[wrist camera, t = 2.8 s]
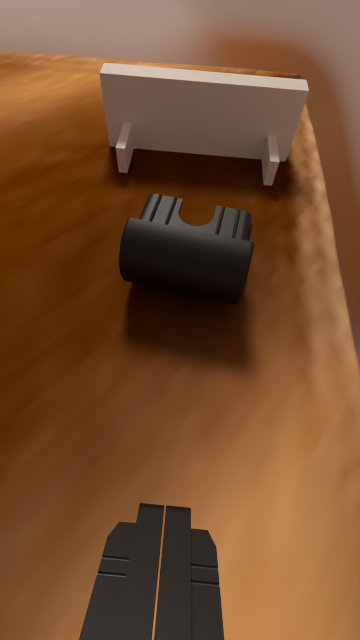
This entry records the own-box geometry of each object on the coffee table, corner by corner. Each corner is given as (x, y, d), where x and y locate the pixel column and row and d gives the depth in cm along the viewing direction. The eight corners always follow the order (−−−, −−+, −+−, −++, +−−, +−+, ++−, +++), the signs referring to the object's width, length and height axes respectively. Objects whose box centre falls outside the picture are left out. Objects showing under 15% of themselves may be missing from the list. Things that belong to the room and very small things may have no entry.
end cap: (123, 298, 30) (113, 244, 25) (145, 243, 34) (142, 184, 28) (233, 322, 29) (250, 273, 24) (243, 263, 33) (260, 207, 27)
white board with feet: (101, 170, 40) (89, 96, 33) (113, 135, 43) (104, 62, 37) (289, 187, 39) (315, 116, 33) (283, 150, 43) (306, 79, 37)
